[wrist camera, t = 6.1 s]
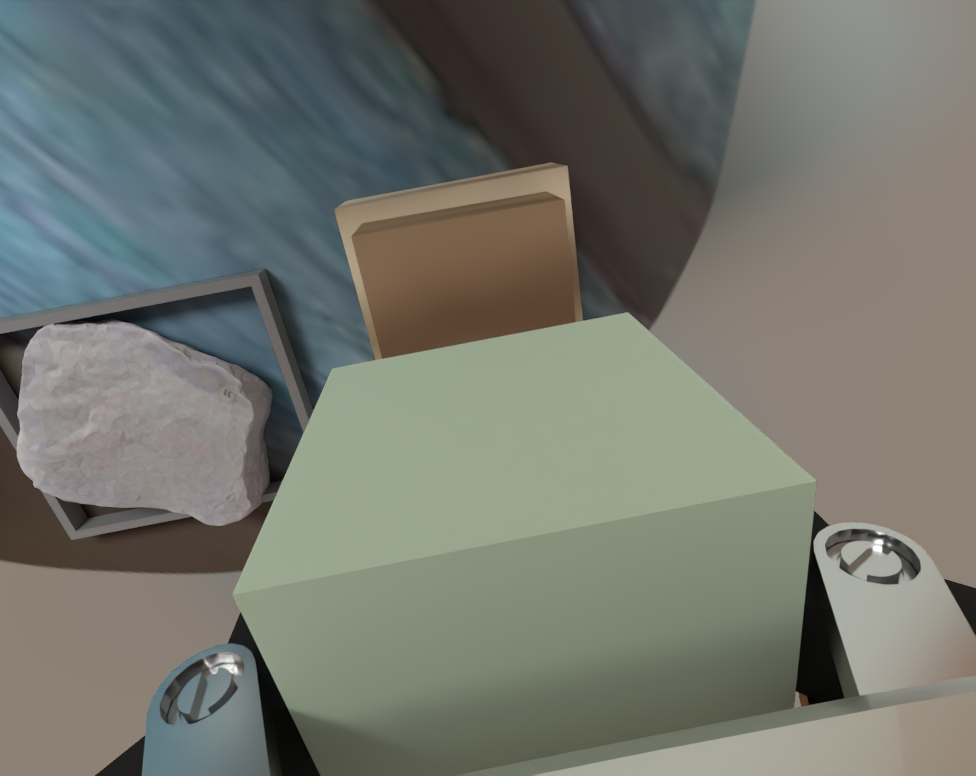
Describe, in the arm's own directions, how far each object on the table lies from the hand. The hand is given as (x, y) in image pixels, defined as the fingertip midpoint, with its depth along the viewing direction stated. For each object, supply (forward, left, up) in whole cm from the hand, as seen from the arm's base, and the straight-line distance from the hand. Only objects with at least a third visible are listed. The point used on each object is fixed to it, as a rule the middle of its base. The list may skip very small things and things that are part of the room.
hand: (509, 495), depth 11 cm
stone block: (+4, -17, -20) cm, 27 cm away
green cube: (0, 0, -1) cm, 1 cm away
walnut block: (0, 0, -16) cm, 16 cm away
